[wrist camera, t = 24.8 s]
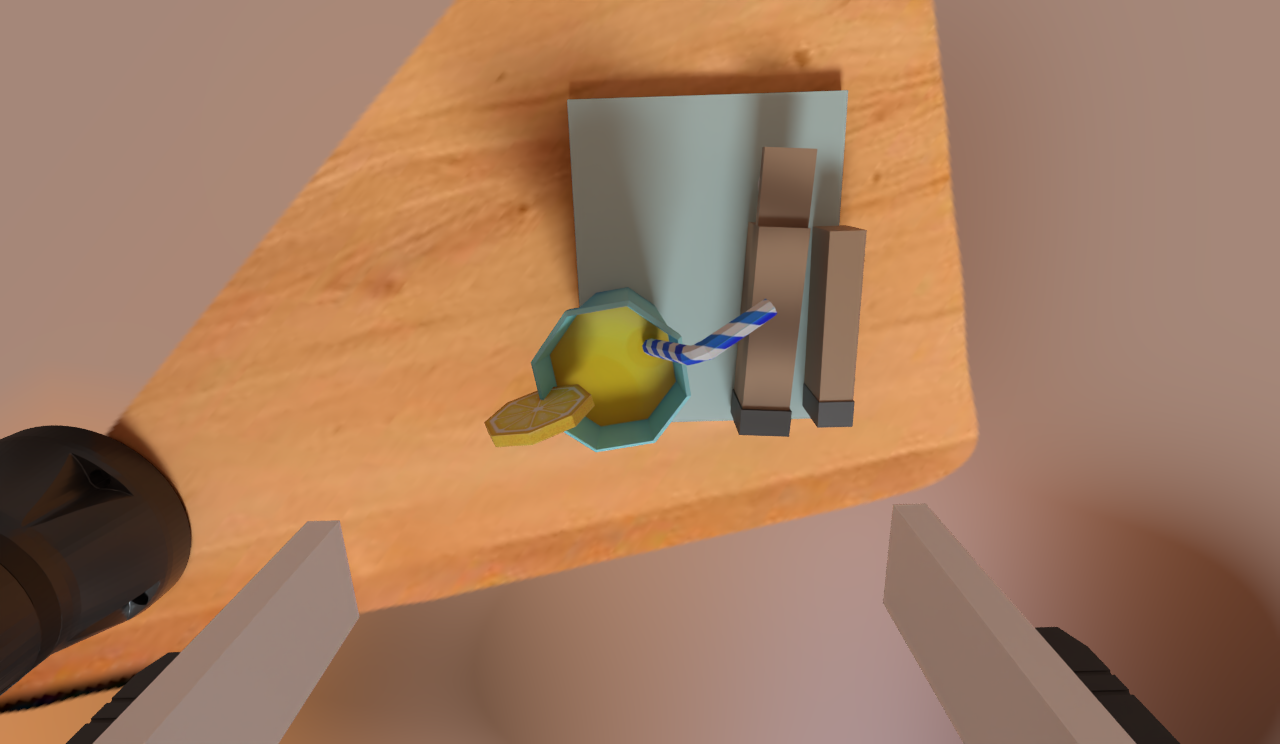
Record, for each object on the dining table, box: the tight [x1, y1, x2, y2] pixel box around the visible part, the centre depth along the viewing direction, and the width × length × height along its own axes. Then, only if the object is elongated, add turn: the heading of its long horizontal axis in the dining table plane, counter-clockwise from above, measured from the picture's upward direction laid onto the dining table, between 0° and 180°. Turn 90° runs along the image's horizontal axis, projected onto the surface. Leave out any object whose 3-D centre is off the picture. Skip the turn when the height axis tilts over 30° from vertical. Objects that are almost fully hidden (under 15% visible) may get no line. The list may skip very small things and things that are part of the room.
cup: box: [484, 287, 777, 452], centre depth 32 cm, size 14×8×15 cm, turn 123°
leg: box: [730, 147, 817, 437], centre depth 36 cm, size 16×3×4 cm, turn 178°
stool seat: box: [567, 90, 867, 427], centre depth 37 cm, size 16×20×5 cm
